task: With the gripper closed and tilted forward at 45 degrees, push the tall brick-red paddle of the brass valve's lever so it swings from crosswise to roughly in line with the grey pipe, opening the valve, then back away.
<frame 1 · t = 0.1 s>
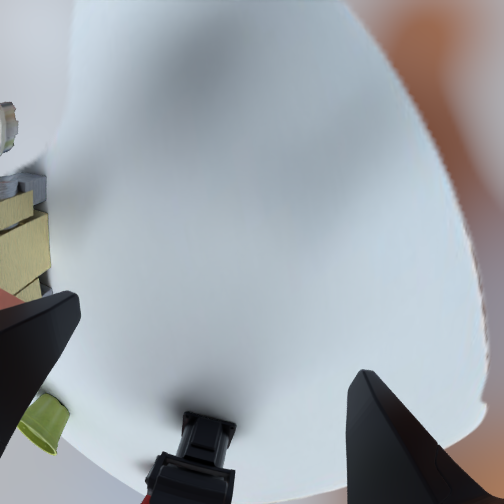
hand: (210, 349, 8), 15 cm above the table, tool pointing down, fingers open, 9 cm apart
valve: (35, 236, 25), on the table
white flashlight: (5, 210, 25), on the table
plant pot: (56, 404, 38), on the table
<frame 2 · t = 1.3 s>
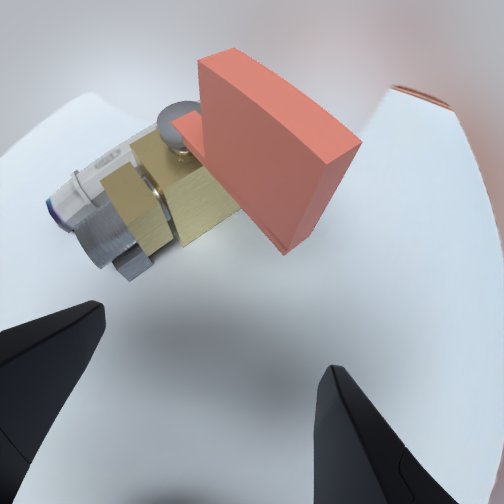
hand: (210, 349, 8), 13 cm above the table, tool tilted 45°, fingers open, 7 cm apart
valve: (197, 207, 25), on the table
lever: (224, 123, 12), point 13 cm above the table, hinge at 0.0°
white flashlight: (176, 157, 27), on the table
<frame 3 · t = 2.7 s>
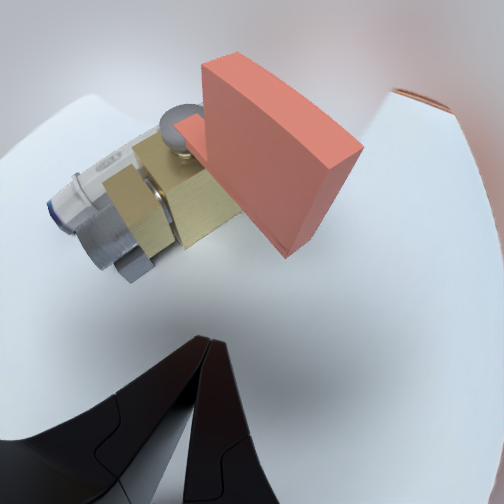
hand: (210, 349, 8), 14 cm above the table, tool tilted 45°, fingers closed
valve: (199, 210, 25), on the table
lever: (226, 127, 12), point 13 cm above the table, hinge at 0.0°
white flashlight: (177, 160, 27), on the table
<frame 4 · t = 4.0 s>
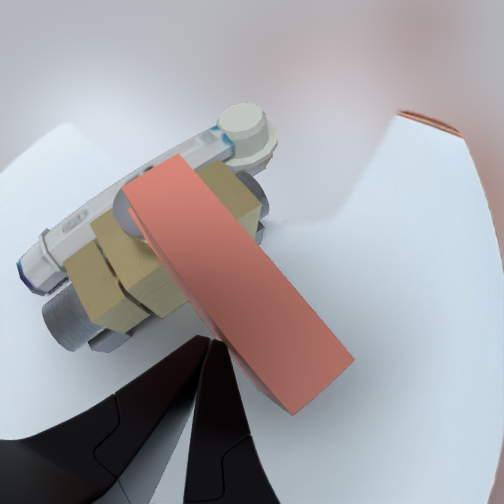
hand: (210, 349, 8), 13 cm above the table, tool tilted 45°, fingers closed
valve: (177, 272, 22), on the table
lever: (180, 243, 10), point 13 cm above the table, hinge at 0.0°, touching gripper
white flashlight: (153, 210, 25), on the table
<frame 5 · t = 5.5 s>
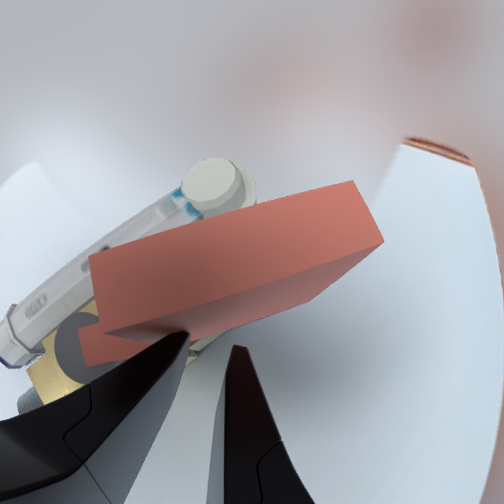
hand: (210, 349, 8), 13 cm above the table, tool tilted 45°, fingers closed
valve: (148, 354, 20), on the table
lever: (156, 313, 8), point 13 cm above the table, hinge at 70.9°, touching gripper
white flashlight: (119, 279, 22), on the table
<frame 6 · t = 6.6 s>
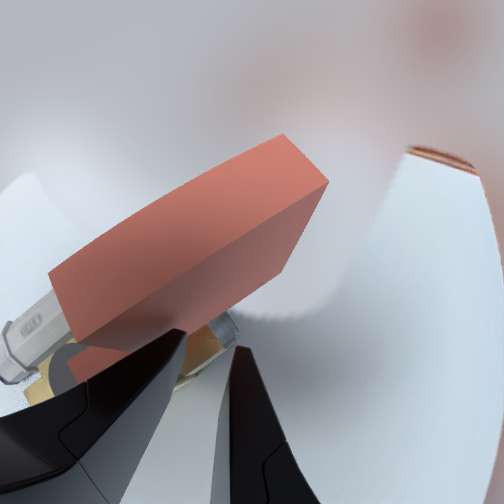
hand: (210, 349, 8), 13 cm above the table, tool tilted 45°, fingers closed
valve: (146, 373, 19), on the table
lever: (132, 320, 8), point 13 cm above the table, hinge at 87.4°
white flashlight: (115, 296, 21), on the table
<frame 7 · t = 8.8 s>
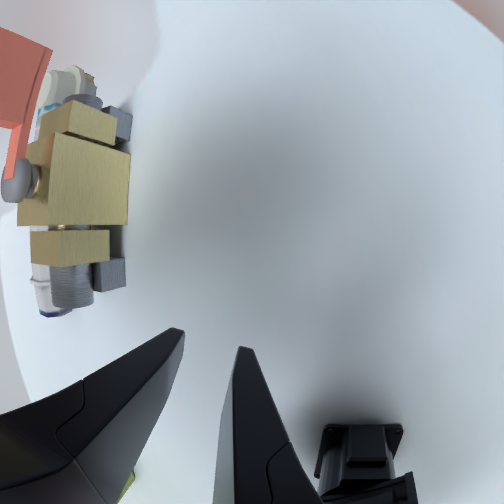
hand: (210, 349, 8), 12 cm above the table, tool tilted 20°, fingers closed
valve: (109, 191, 23), on the table
white flashlight: (71, 187, 26), on the table
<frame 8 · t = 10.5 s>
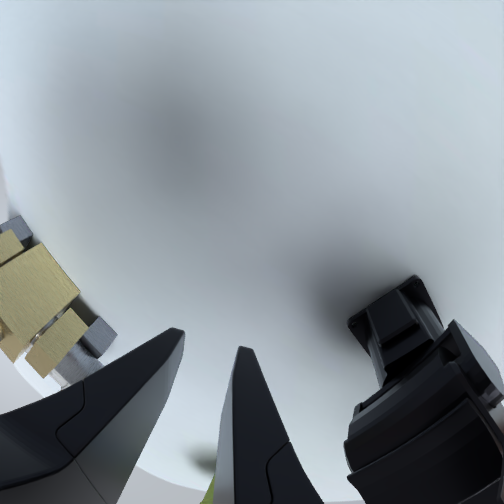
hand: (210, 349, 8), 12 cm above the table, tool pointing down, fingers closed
valve: (51, 279, 23), on the table
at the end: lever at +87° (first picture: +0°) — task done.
